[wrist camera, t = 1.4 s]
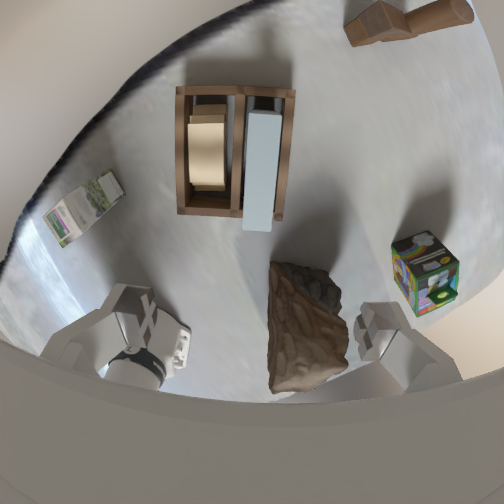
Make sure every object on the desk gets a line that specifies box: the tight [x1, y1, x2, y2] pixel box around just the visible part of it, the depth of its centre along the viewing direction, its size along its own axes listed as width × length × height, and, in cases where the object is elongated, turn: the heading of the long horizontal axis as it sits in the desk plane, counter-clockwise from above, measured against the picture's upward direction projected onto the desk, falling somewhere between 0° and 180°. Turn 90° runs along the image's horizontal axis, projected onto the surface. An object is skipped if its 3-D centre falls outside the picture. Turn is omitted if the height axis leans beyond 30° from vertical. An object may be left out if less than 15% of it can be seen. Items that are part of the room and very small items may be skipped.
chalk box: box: [391, 231, 459, 317], centre depth 41 cm, size 9×9×15 cm
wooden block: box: [344, 0, 474, 47], centre depth 19 cm, size 4×11×18 cm, turn 113°
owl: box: [267, 261, 349, 394], centre depth 43 cm, size 13×13×20 cm
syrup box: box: [43, 169, 125, 248], centre depth 36 cm, size 6×6×14 cm
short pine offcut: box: [188, 122, 226, 183], centre depth 34 cm, size 8×5×2 cm, turn 178°
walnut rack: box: [175, 85, 296, 221], centre depth 36 cm, size 18×15×5 cm
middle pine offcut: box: [190, 114, 226, 185], centre depth 36 cm, size 10×5×2 cm, turn 179°
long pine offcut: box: [193, 104, 227, 191], centre depth 38 cm, size 13×5×2 cm, turn 178°
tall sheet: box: [242, 109, 282, 232], centre depth 32 cm, size 12×3×15 cm, turn 176°
